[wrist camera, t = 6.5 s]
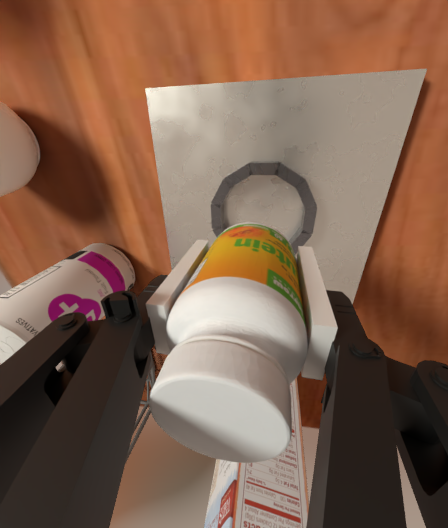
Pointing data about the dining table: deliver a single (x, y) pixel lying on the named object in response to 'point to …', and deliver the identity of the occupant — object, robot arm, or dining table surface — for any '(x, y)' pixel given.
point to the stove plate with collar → (283, 161)
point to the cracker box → (263, 487)
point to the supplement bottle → (234, 349)
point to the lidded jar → (16, 151)
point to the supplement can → (62, 294)
